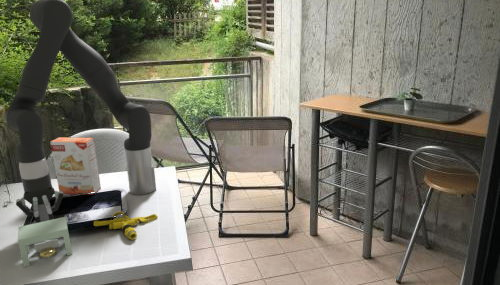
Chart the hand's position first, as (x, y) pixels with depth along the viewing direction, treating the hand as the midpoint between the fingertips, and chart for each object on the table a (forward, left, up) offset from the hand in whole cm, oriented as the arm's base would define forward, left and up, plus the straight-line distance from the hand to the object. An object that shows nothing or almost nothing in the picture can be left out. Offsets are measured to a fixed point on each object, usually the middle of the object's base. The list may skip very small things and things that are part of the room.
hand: (45, 224), depth 125 cm
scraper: (0, +6, -2) cm, 6 cm away
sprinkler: (-23, +13, -2) cm, 27 cm away
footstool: (0, +15, -2) cm, 15 cm away
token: (0, +15, -2) cm, 16 cm away
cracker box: (-12, -26, -2) cm, 29 cm away
